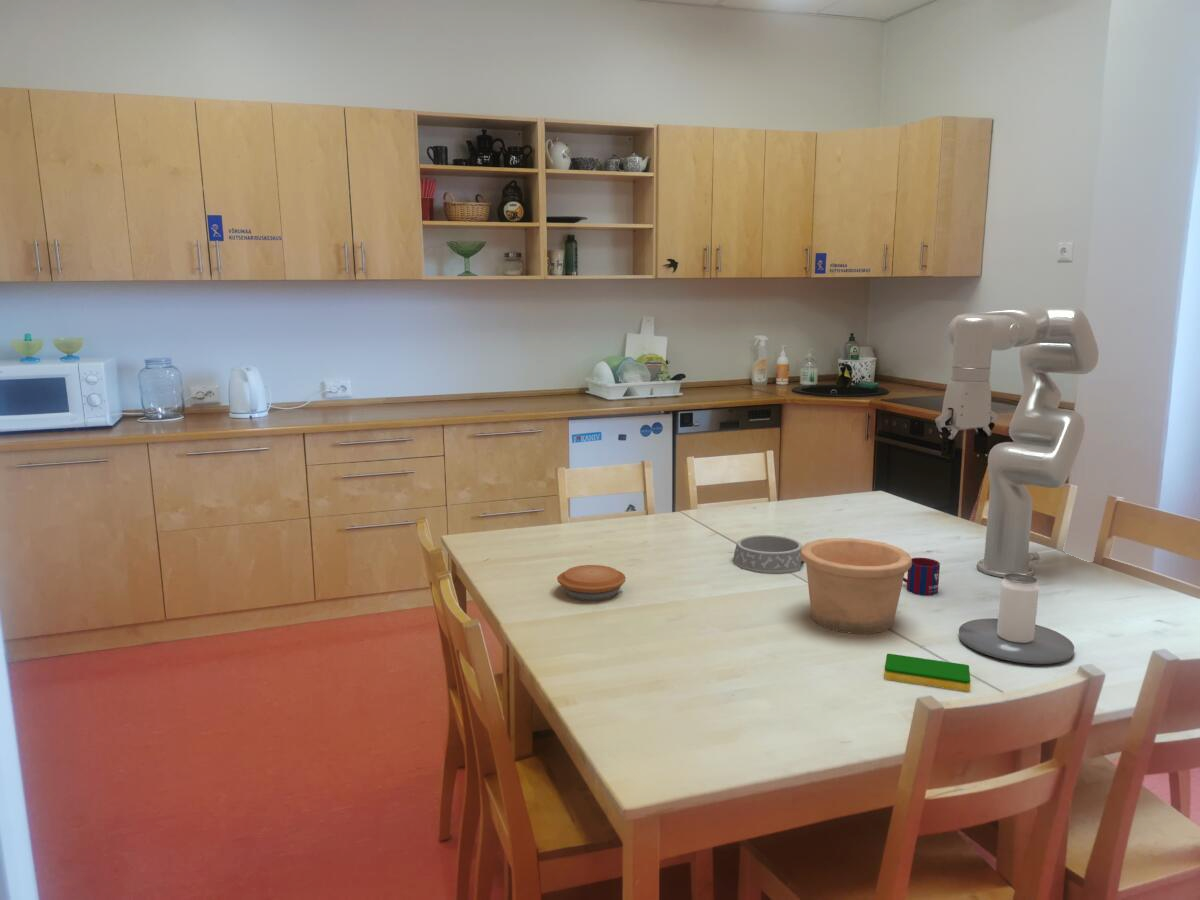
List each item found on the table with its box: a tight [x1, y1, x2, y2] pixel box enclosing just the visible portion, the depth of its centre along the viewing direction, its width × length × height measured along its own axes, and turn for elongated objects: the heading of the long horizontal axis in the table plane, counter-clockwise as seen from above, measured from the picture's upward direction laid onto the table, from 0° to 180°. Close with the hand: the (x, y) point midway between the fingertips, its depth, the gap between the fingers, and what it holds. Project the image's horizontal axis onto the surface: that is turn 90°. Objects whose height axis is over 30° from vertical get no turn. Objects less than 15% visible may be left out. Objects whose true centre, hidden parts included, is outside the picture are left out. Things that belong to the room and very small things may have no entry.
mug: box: [903, 557, 941, 596], centre depth 196 cm, size 7×10×7 cm
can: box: [997, 573, 1039, 644], centre depth 164 cm, size 6×6×12 cm
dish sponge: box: [883, 653, 971, 692], centre depth 151 cm, size 7×14×2 cm, turn 69°
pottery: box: [801, 537, 912, 634], centre depth 177 cm, size 22×22×14 cm
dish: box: [958, 617, 1075, 665], centre depth 165 cm, size 20×20×1 cm
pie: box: [556, 564, 626, 602], centre depth 194 cm, size 16×16×5 cm
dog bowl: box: [732, 534, 803, 575], centre depth 215 cm, size 17×18×5 cm
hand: (964, 454), depth 185 cm, fingers open, 9 cm apart
